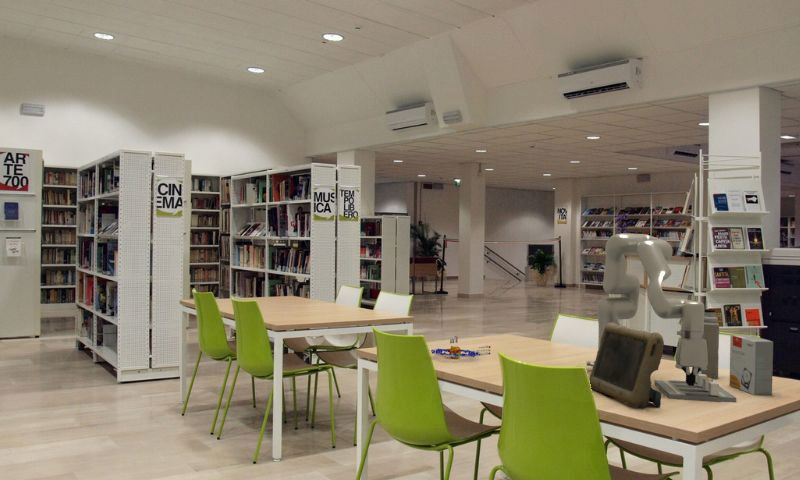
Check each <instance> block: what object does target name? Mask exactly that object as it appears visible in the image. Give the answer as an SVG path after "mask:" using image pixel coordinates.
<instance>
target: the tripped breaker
mask: <svg viewBox="0 0 800 480" xmlns="http://www.w3.org/2000/svg"><path fill="white" fill-rule="evenodd" d="M709 382H714V379H711V378H703V389H704V390H705V391H708V385H709Z"/></svg>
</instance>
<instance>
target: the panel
mask: <svg viewBox="0 0 800 480" xmlns="http://www.w3.org/2000/svg"><path fill="white" fill-rule="evenodd" d="M654 385H655V386H656V387H657V386H658V387H659V388H660V389H659V388H658V387H657V388H658V389H659V390H660V391H661V392H662V393H664V394H665V396H666V397H667V398H669V399H671V400H672V399H673V400H691V401H708V402H728V403H737V397H736V396H734V395H733V394H731V393H730V392H729V391H727V390H726V389H725V388H723V387H721V386H720V385H719V396H718V395H710V394H709V393H708V391H705V390H704V389H703V387H700V386H698V385H697V383H694V386H689V385H687V383H686V380H685V381H684V380H682V381H681V380H663V379H662V380H660V379H655V380H654Z"/></svg>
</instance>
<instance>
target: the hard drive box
mask: <svg viewBox="0 0 800 480" xmlns="http://www.w3.org/2000/svg"><path fill="white" fill-rule="evenodd" d="M729 337H730V340H729V341H730V343H729V344H730V345H729V347H730V349H729V355H730V356H729V386H731V387H733V388H735V389H737V390H738V389H739V390H741V391H744V392H746V393H748V394H750V395H752V396H756V395H757V396H765V395H767V396H768V395H769V396H771V395H773V370H774V369H773V367H774V365H773V362H774V361H773V360H774V341H771V340H769V339H765V338H762V337H757V336H754V335H749V334H730V336H729Z"/></svg>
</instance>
